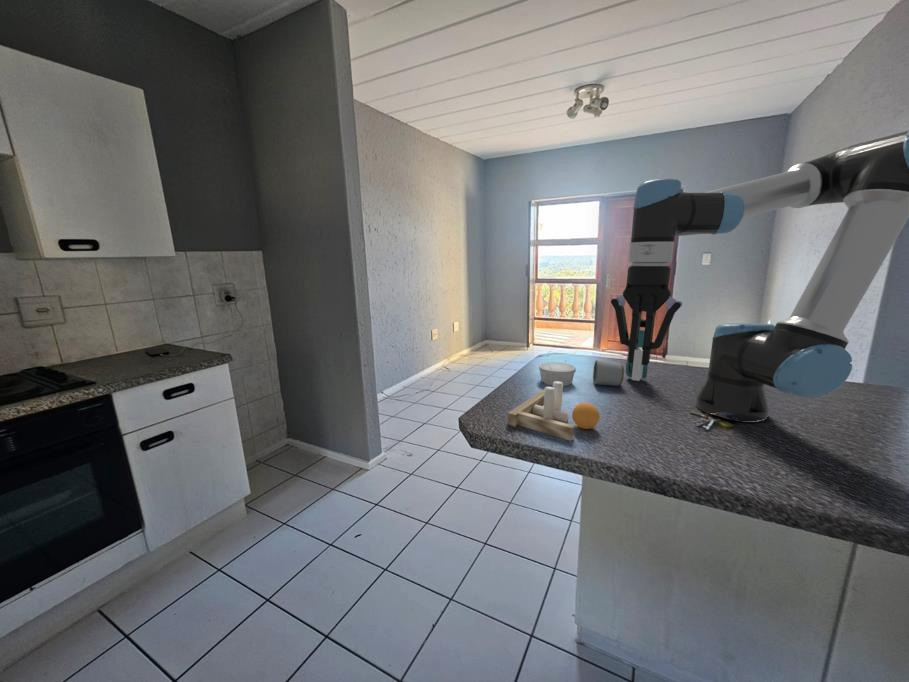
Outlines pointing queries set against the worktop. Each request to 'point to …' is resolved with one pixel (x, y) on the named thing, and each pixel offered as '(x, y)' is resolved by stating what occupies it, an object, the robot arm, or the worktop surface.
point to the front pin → (557, 414)
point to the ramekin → (557, 373)
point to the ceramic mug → (608, 373)
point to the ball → (585, 415)
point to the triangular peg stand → (539, 419)
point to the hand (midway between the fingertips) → (636, 378)
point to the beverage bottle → (640, 344)
